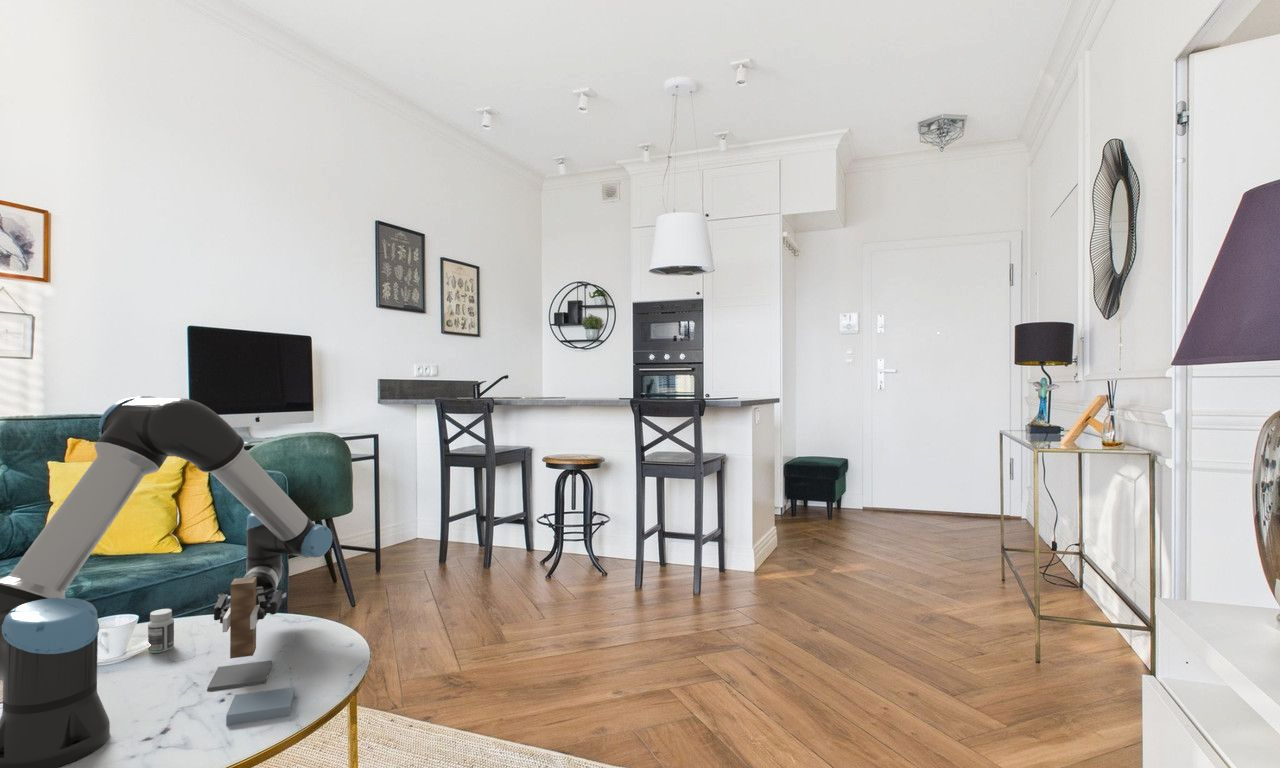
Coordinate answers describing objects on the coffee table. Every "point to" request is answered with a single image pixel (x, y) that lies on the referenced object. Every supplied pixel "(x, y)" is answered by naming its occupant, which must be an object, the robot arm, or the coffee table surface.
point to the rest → (240, 675)
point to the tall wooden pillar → (242, 617)
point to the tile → (260, 706)
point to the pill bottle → (161, 631)
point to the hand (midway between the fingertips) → (238, 623)
